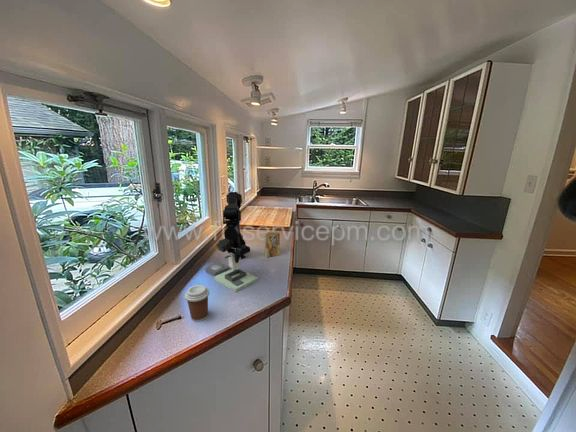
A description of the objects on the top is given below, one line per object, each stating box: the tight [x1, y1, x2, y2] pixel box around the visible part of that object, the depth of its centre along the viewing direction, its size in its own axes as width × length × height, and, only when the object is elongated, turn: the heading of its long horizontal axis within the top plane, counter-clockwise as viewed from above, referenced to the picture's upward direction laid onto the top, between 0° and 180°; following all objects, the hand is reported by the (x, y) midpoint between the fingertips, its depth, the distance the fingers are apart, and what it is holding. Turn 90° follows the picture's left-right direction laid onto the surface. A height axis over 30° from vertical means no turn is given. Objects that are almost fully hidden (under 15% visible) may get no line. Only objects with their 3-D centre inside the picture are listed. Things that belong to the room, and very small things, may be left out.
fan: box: [204, 262, 230, 277], centre depth 132 cm, size 9×9×3 cm
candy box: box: [264, 230, 281, 258], centre depth 151 cm, size 9×4×15 cm, turn 110°
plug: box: [224, 252, 242, 269], centre depth 120 cm, size 9×3×7 cm, turn 139°
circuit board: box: [213, 266, 259, 292], centre depth 123 cm, size 18×14×4 cm
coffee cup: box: [184, 284, 210, 322], centre depth 95 cm, size 9×9×12 cm
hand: (234, 262), depth 121 cm, fingers closed on plug, 3 cm apart
